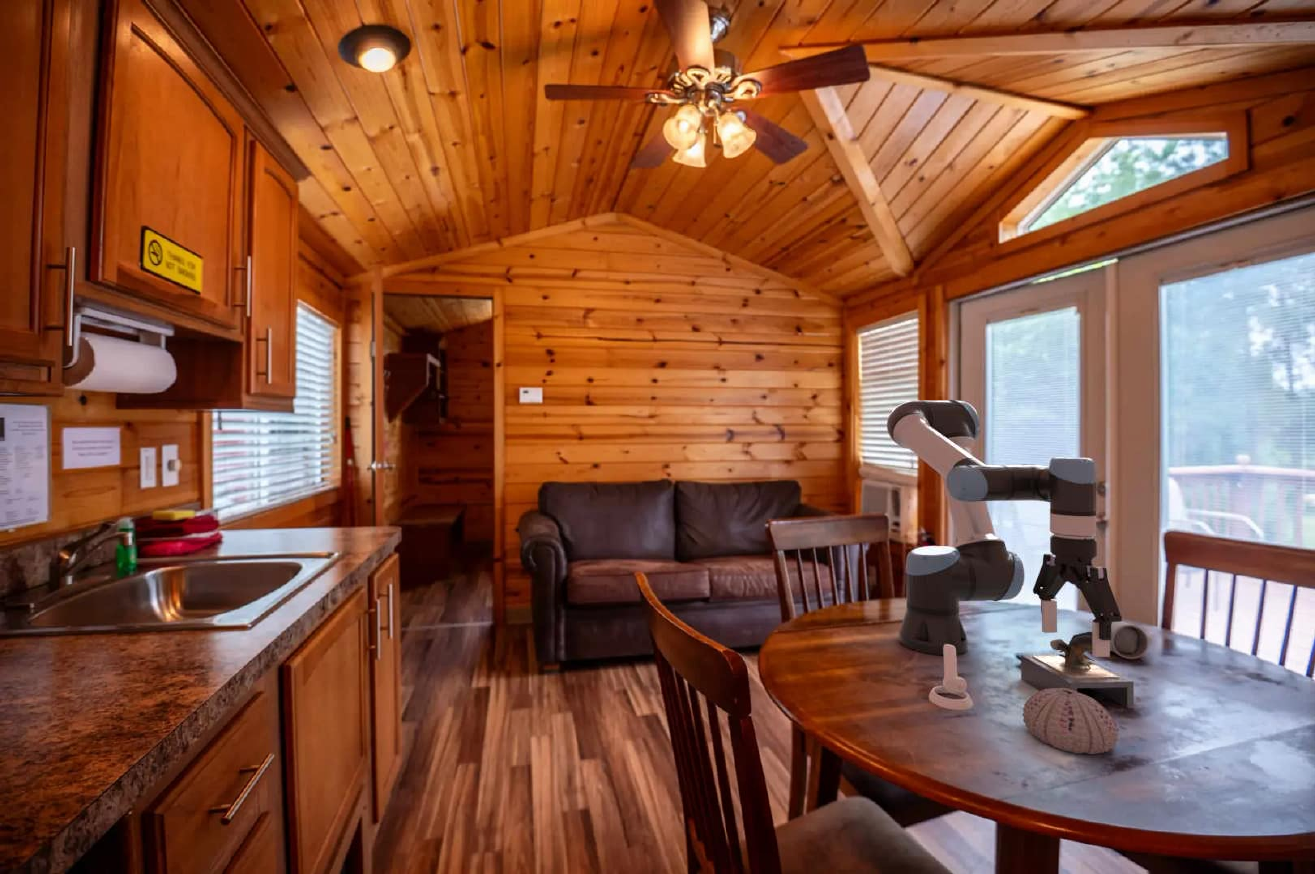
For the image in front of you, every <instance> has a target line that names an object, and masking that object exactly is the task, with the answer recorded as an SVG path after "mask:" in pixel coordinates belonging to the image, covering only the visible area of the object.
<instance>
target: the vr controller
mask: <svg viewBox="0 0 1315 874" xmlns="http://www.w3.org/2000/svg"><path fill="white" fill-rule="evenodd" d="M942 656H943V680H942V685H937V686H934V687H932V689H930V692H929V694H928V697H929V698H928V700H929V701H930V703H933V704H934V705H937V706H939V707H941V708H944V709H947V710H953V711H954V710H955V711H966V710H970V709H972V708H973V706H974V703H973V701H972V698H971V697H970V695H969V693H968V692H967V691H966V689H967V688H968V683H967V681H966V679H964V678H963V677H961V676H958V663H957V662H958V660H957V655H956V648H955V646H953V645H949V644H945V645H944V647H943V655H942ZM948 693H950V694H949V695H954V696H958V697H960V698H961V699H960V698H957V699H956V698H948V697H944V696H942V695H939V694H948Z"/></svg>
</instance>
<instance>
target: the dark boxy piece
mask: <svg viewBox="0 0 1315 874" xmlns="http://www.w3.org/2000/svg"><path fill="white" fill-rule="evenodd" d="M1061 655H1064V656H1065V653H1061ZM1087 660H1088V662H1089V663H1090V667H1091V668H1089V667H1088V666H1086V665H1085V664H1083V663H1082V662H1080V661H1078V660H1076V659H1075V658H1074V659H1073V661H1072V663H1071V664H1070V665H1069V666H1067V667H1066V668H1065V658H1063V657H1061V656H1059V653H1058V654H1057V653H1056V654H1053V653H1051V654H1021V655H1020V679H1021V680H1022V681H1023V682H1025V683H1027V684H1028V685H1030V686H1032V687H1033V688H1035V689H1036V690H1038V691H1039V692H1040V691H1042V690H1045V689H1050V688H1051V689H1052V688H1068V689H1071V690H1074V691H1076V692H1078V689H1090V690H1092V691H1095V692H1096V693H1098V694H1100V695H1102V696H1104V697H1105V698H1107V699H1109V700H1111V701H1113V702H1115V703H1117V704H1118V705H1120V706H1122V707H1124V708H1125V709H1128V710H1129V709H1132V710H1133V709H1134V707H1135V705H1134V703H1135V701H1134V697H1135V696H1134V694H1135V693H1134V687H1135V686H1134V680H1132V679H1129V678H1127V677H1126V676H1123V675H1121V674H1119V673H1117V672H1115V671H1113V670H1112V669H1109V668H1107V667H1105V666H1103V665H1101V664H1098V663H1096V662H1095V661H1092V660H1089V659H1087Z"/></svg>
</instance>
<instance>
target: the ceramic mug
mask: <svg viewBox="0 0 1315 874" xmlns="http://www.w3.org/2000/svg"><path fill="white" fill-rule="evenodd" d="M1148 648H1149V638H1148V635H1147V633H1146V632H1145V631H1144V630H1143V629H1142V628H1141V627H1140V626H1138V625H1135V624H1132V623H1129V622H1125V621H1124V620H1122V621H1121V622H1112V624H1111V640H1110V652H1112V653H1114V654H1116V655H1118V656H1119V657H1121V658H1123V659H1128V660H1135V659H1139V658H1141V657H1142V656H1144V654H1145V653H1147V650H1148ZM1089 652H1090V653H1092V651H1089Z"/></svg>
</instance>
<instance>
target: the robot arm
mask: <svg viewBox="0 0 1315 874" xmlns="http://www.w3.org/2000/svg"><path fill="white" fill-rule="evenodd" d="M980 426H981V421H980V418H979V415H978V413H977V410H976V409H975V407H973V406H972V405H971V404H970V403H968V402H966V401H963V400H955V399H946V400H918V399H917V400H909V401H904V402H903V403H900V404H898V405H897V406H896V407H894V408H893V410H892V411H891V412H890V414H889V416H888V418H887V422H886V430H887V433H888V436H889V437H890V439H891V440H892V441H893V442H894V443H895V444H896V445H898V446H899V447H901V448H903V449H908V450H910V451H911V452H913V453H914V454H915V455H916V456H918V458H920V459H921V460H922V461H924V462H925V464H927V465H928V466H930V467H931V468H932V469H933V470H934V471H936V472H937V473H938V474H939V475H940V477H941V480H942V485H943V488H944V492H945V493H944V494H945V495H946V500H947V504H948V508H949V511H950V515H951V519H952V523H953V527H954V531H955V535H956V539H957V542H956V544H955V545H954V546H947V545H939V546H938V545H929V546H927V545H926V546H922V547H916V548H914V549H912V550H911V551H909V552H908V553H907V556H906V563H905V569H904V570H905V581H906V583H905V587H906V592H905V593H906V594H905V595H906V599H905V600H906V610H905V613H904V616H903V619H902V622H901V625H900V627H899V631H898V641H899V643H900V642H901V643H902V644H903V645H902V644H901V643H900V644H901V645H902V646H904V645H905V646H907V647H908V648H907V647H906V648H907V649H910V650H912V649H915V650H918V651H917V652H919V651H921V652H920V653H923V652H924V653H923V654H928V653H929V655H935V654H937V655H936V656H944V655H943V647H944V645H945V644H949V645H953V646H955V648H956V656H957V655H961V654H965V653H967V651H968V650H969V649H968V647H969V646H968V645H969V643H968V637H967V634H966V631H965V629H964V626H963V623H962V620H961V617H960V602H982V601H983V602H988V601H991V602H999V601H1006V600H1007V601H1008V600H1012V599H1014V598H1016V597H1017V596H1019V594H1020V593H1021V592H1022V589H1023V586H1024V584H1025V578H1026V577H1025V568H1024V564H1023V561H1022V559H1021V558H1020V556H1018V554H1017V553H1015V552H1014V551H1011V550H1007V546H1006V542H1005V540H1003V539H1001V538H999V537H998V536H997V535H996V533H995V529H994V525H993V523H992V519H991V516H990V512H989V508H988V505H987V502H1000V501H1001V502H1004V501H1006V502H1009V501H1014V502H1016V501H1017V502H1018V501H1021V502H1022V501H1024V502H1025V501H1034V502H1035V501H1038V502H1045V503H1049V507H1050V508H1049V532H1050V533H1051V534H1052V535H1051V536H1050V538H1049V539H1050V540H1049V543H1050V545H1049V552H1050V553H1044V554H1043V555H1042V565H1041V567H1040V569H1039V572H1038V575H1037V577H1036V580H1035V583H1034V586H1033V589H1032V592H1033V595H1037V596H1038V599H1040V614H1041V633H1045V634H1046V633H1047V634H1049V633H1053V634H1054V633H1058V601H1057V598H1056V595H1058V593H1059V592H1060V591H1061V589H1063V587H1064V586H1065V584H1067V583H1069V584H1071V585H1074V586H1075V587H1076V589H1078V590H1079V591H1080V592H1081V594H1082V596H1083V598H1084V600H1085V601H1086V603H1087V604H1088V607H1089V609H1090V611H1091V612H1092V615H1093V617H1094V619H1093V620H1092V621H1091V623H1092V625H1091V630H1092V631H1091V632H1092V652H1091V653H1092V657H1095V658H1110V657H1111V651H1110V640H1111V624H1112V622H1121V621H1123V618H1122V615H1121V612H1120V609H1119V607H1118V603H1117V602H1116V599H1115V596H1114V593H1113V589H1112V588H1111V585H1110V582H1109V577H1108V568H1107V567H1105V566H1093V559H1094V558H1096V557H1097V556H1098V552H1097V551H1098V547H1097V546H1098V545H1097V543H1098V540H1097V539H1096V538H1095V536H1096V535H1097V482H1098V477H1097V467H1096V462H1095V460H1093V458H1090V457H1073V456H1072V457H1071V456H1070V457H1068V456H1064V457H1061V456H1060V457H1052V458H1051V459H1050V461H1049V465H1038V464H1037V465H1036V464H1033V463H1032V464H1031V463H1030V464H1027V463H1024V464H1017V465H987V464H985V463H984V462H982V461H980V460H979V459H977V458H976V457H975V456H973V452H972V448H973V447H974V446H975V444H976V440H977V438H978V436H979V434H980V431H981V429H980ZM905 646H904V647H905ZM915 650H914V651H915Z"/></svg>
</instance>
